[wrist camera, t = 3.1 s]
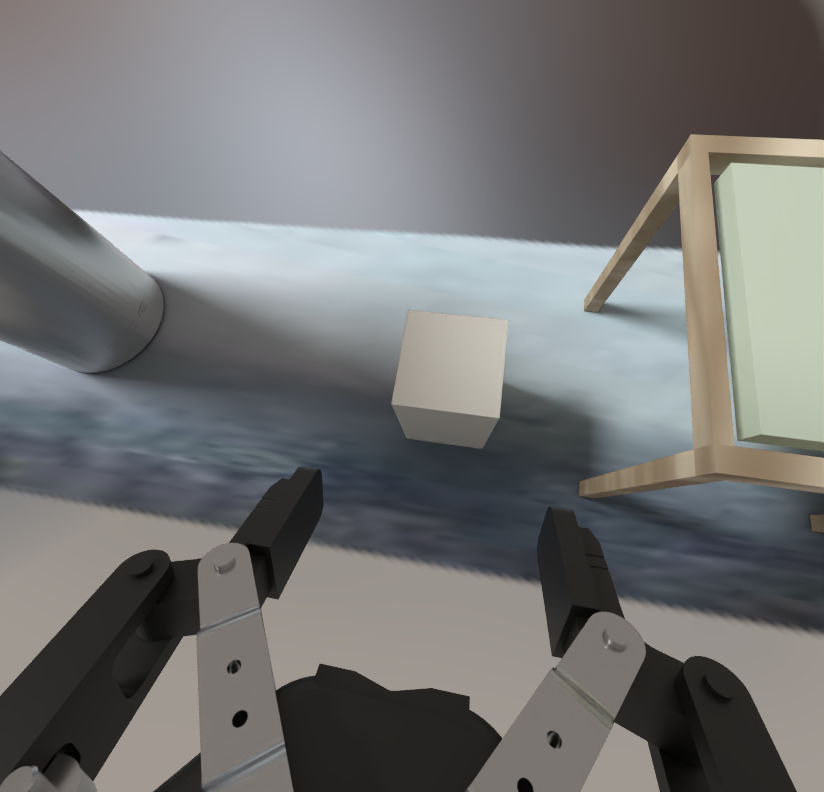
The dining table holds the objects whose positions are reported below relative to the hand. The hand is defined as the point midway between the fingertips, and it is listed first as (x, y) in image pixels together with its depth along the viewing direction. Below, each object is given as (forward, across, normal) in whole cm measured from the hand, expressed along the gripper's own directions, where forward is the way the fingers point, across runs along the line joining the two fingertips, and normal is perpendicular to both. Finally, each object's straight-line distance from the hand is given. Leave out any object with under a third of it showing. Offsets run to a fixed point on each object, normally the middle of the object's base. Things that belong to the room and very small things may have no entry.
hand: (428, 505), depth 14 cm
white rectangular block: (+13, 0, +3) cm, 13 cm away
